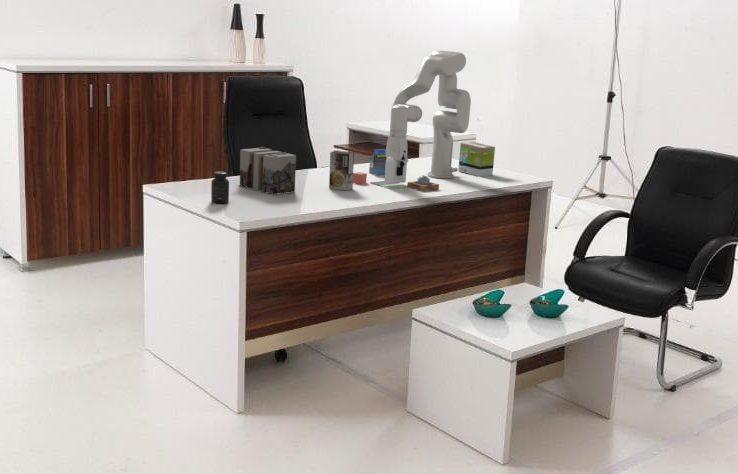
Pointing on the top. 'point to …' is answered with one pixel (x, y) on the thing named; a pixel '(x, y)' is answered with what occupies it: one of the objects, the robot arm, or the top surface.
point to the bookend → (267, 170)
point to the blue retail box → (378, 162)
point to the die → (359, 178)
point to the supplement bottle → (220, 188)
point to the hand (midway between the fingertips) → (395, 174)
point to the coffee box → (341, 170)
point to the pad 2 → (394, 185)
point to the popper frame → (423, 186)
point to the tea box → (476, 159)
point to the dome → (423, 180)
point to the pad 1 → (381, 183)
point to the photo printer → (394, 171)
